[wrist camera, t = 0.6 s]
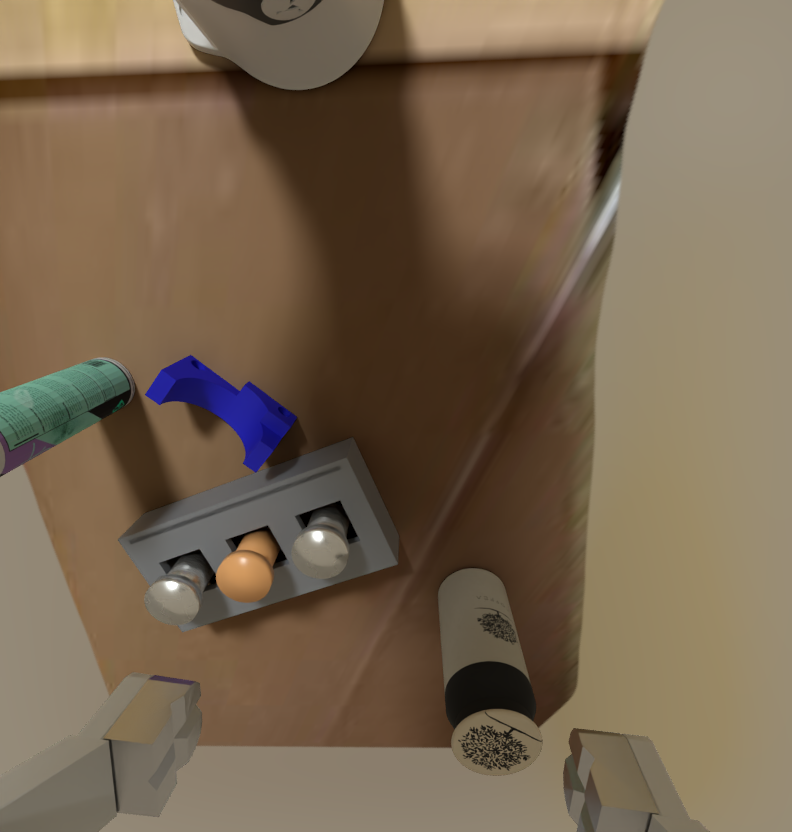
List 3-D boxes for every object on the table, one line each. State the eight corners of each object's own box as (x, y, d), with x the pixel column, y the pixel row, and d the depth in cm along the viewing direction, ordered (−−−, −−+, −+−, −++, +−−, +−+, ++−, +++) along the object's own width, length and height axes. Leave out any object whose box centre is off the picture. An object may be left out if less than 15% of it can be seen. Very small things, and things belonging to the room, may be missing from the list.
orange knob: (229, 530, 50) (205, 567, 44) (272, 515, 49) (254, 550, 43) (252, 568, 51) (232, 608, 46) (294, 554, 51) (280, 593, 45)
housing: (143, 513, 53) (117, 539, 49) (352, 437, 49) (346, 457, 45) (201, 600, 57) (182, 632, 53) (399, 536, 53) (397, 564, 49)
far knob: (164, 553, 51) (134, 591, 45) (206, 538, 50) (180, 575, 45) (189, 589, 53) (162, 631, 47) (229, 576, 52) (207, 616, 46)
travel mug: (473, 631, 58) (498, 791, 41) (423, 596, 56) (428, 748, 39) (519, 591, 55) (566, 743, 39) (469, 554, 54) (495, 696, 37)
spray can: (70, 371, 48) (-150, 453, 29) (113, 348, 47) (-87, 417, 28) (104, 417, 50) (-84, 522, 31) (146, 395, 49) (-23, 491, 30)
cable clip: (297, 416, 49) (282, 439, 43) (273, 446, 50) (255, 472, 45) (199, 343, 47) (169, 357, 41) (176, 376, 48) (145, 394, 42)
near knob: (296, 507, 49) (281, 541, 43) (342, 491, 48) (333, 524, 42) (318, 546, 50) (306, 585, 45) (363, 532, 49) (356, 569, 44)
